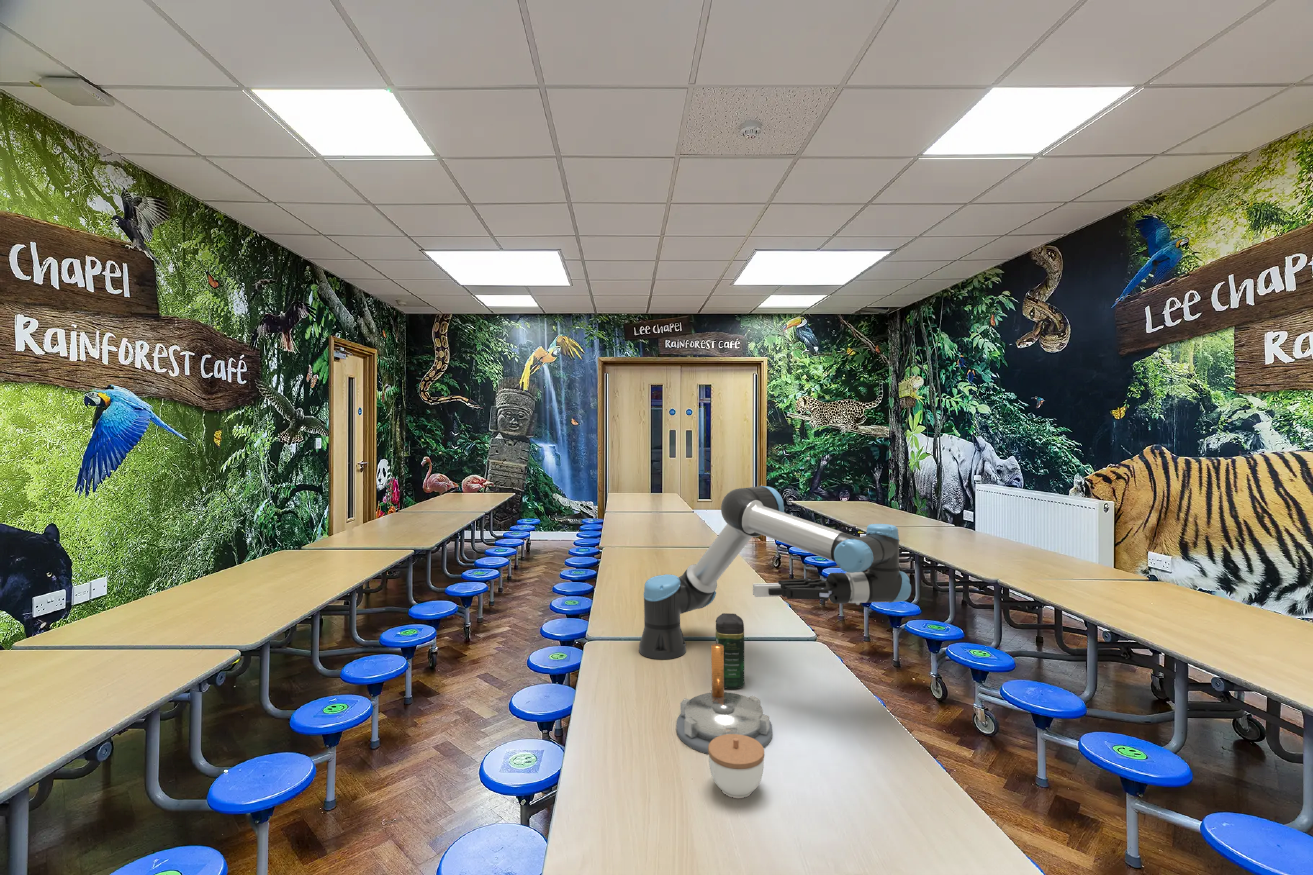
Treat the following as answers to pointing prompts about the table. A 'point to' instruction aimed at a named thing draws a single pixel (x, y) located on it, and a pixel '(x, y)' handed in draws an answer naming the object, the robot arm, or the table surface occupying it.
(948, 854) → the table surface
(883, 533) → the robot arm
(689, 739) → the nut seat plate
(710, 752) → the lidded jar
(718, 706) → the lugged metal dome
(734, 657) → the coffee jar
